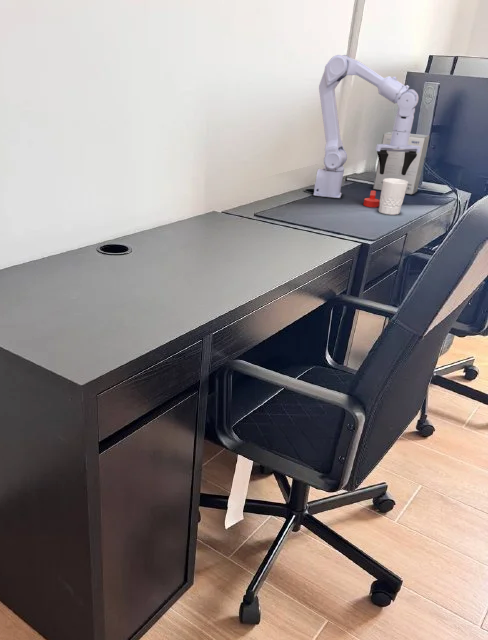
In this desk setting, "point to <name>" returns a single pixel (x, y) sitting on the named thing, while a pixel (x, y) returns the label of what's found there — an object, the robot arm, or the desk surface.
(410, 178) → the hard drive box
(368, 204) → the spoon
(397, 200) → the white cup
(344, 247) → the desk surface
